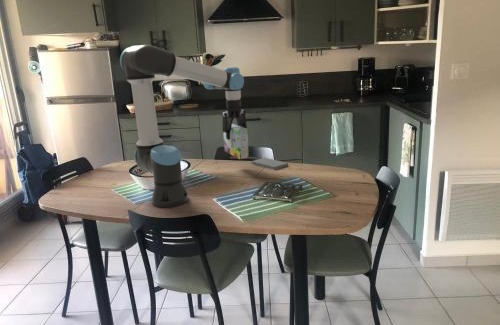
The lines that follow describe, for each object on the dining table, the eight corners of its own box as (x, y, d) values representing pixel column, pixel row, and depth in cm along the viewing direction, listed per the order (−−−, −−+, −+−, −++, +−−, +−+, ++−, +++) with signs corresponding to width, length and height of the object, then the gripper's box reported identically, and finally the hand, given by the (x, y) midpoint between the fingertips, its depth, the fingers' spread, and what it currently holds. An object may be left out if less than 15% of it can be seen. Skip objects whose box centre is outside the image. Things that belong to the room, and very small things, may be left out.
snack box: (223, 151, 215) (222, 123, 212) (232, 150, 218) (231, 122, 214) (239, 159, 197) (238, 129, 193) (249, 158, 199) (248, 128, 195)
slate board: (287, 165, 215) (287, 163, 215) (274, 169, 209) (274, 167, 209) (265, 160, 229) (264, 157, 228) (251, 164, 222) (251, 161, 222)
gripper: (243, 97, 209) (245, 140, 215) (213, 100, 197) (215, 146, 203) (253, 97, 203) (254, 142, 209) (222, 101, 191) (224, 148, 197)
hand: (235, 144), depth 206 cm, fingers closed on snack box, 7 cm apart
